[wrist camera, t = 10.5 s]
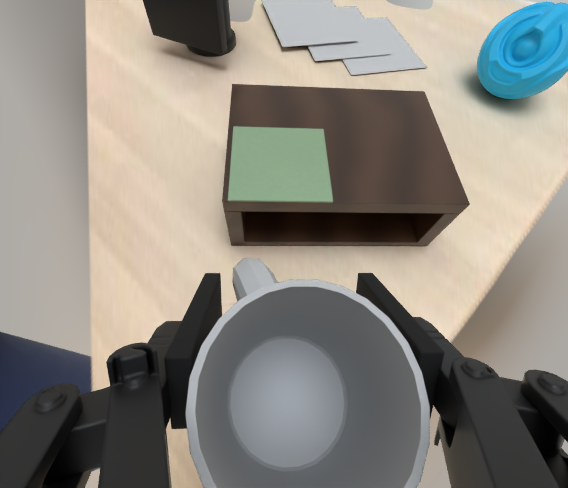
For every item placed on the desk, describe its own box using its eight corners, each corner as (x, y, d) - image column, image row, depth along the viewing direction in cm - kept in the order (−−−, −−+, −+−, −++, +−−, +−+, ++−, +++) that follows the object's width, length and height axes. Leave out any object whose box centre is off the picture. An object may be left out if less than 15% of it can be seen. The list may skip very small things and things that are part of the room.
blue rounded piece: (448, 85, 49) (497, 0, 38) (484, 61, 53) (537, -21, 42) (514, 125, 45) (589, 42, 34) (547, 96, 49) (623, 15, 38)
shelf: (231, 245, 32) (221, 200, 25) (237, 140, 40) (232, 82, 32) (426, 246, 33) (471, 203, 26) (397, 144, 41) (425, 89, 34)
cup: (250, 507, 14) (234, 636, 6) (193, 317, 18) (141, 254, 11) (375, 435, 16) (483, 466, 8) (297, 276, 20) (319, 196, 12)
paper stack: (370, -4, 61) (371, -8, 61) (426, 67, 50) (428, 63, 50) (260, 2, 57) (260, -2, 57) (295, 81, 46) (296, 76, 46)
